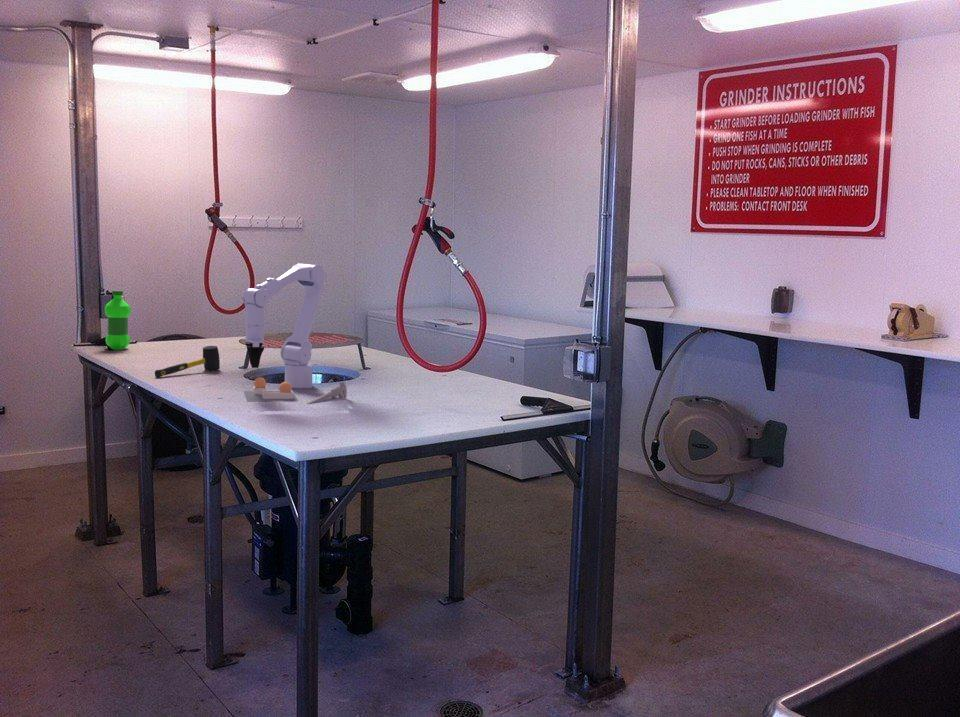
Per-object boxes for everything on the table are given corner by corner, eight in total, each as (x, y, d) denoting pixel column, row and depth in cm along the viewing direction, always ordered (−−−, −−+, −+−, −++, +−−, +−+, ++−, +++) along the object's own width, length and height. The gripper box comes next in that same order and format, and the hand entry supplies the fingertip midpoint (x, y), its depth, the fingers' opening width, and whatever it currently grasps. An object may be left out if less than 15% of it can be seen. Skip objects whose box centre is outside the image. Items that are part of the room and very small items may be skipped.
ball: (265, 388, 295) (265, 376, 294) (266, 390, 291) (266, 378, 290) (253, 388, 293) (253, 376, 293) (254, 390, 290) (254, 378, 289)
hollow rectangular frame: (291, 396, 290) (292, 390, 290) (293, 398, 286) (293, 392, 286) (261, 396, 287) (262, 390, 287) (263, 399, 283) (263, 392, 283)
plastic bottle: (135, 349, 381) (135, 291, 378) (112, 350, 373) (112, 291, 370) (122, 346, 388) (122, 289, 384) (100, 348, 379) (99, 290, 376)
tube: (265, 392, 295) (265, 386, 295) (266, 394, 291) (267, 388, 291) (252, 392, 294) (253, 386, 293) (253, 394, 290) (253, 388, 289)
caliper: (343, 399, 297) (344, 380, 296) (346, 399, 296) (347, 381, 295) (303, 407, 279) (304, 388, 278) (306, 408, 278) (307, 388, 278)
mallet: (162, 379, 315) (162, 352, 313) (150, 377, 318) (150, 351, 316) (223, 370, 340) (223, 346, 338) (212, 369, 343) (212, 344, 341)
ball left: (290, 392, 290) (291, 380, 289) (292, 395, 286) (292, 382, 285) (278, 392, 288) (278, 380, 288) (279, 395, 285) (279, 382, 284)
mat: (292, 393, 300) (292, 390, 300) (298, 404, 283) (298, 401, 283) (243, 394, 295) (243, 391, 294) (247, 404, 278) (247, 401, 278)
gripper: (241, 322, 296) (240, 362, 298) (243, 327, 282) (242, 369, 284) (263, 322, 298) (262, 362, 300) (266, 327, 284) (265, 369, 286)
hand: (254, 365), depth 292 cm, fingers open, 7 cm apart
